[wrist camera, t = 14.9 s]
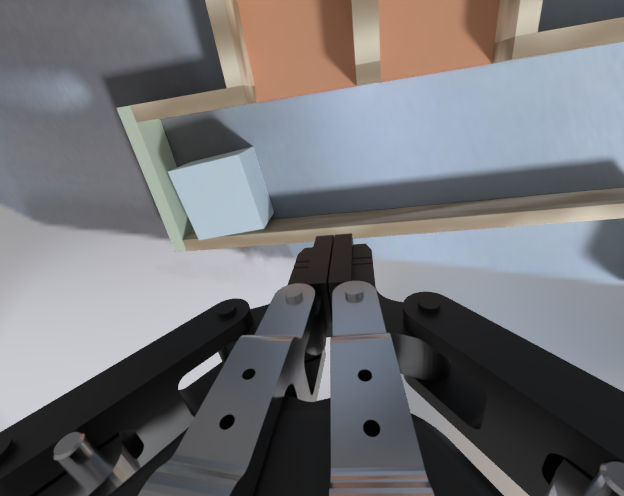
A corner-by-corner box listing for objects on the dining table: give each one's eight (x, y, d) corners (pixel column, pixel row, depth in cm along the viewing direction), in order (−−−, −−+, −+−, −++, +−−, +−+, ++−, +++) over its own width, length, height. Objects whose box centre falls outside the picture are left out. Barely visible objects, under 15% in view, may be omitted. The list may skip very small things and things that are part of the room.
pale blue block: (191, 161, 34) (167, 171, 30) (253, 146, 33) (238, 154, 28) (216, 223, 38) (198, 240, 33) (274, 212, 36) (263, 228, 32)
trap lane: (98, -12, 27) (61, -28, 24) (774, -193, 18) (873, -259, 15) (191, 237, 39) (175, 251, 35) (629, 200, 30) (665, 214, 27)
